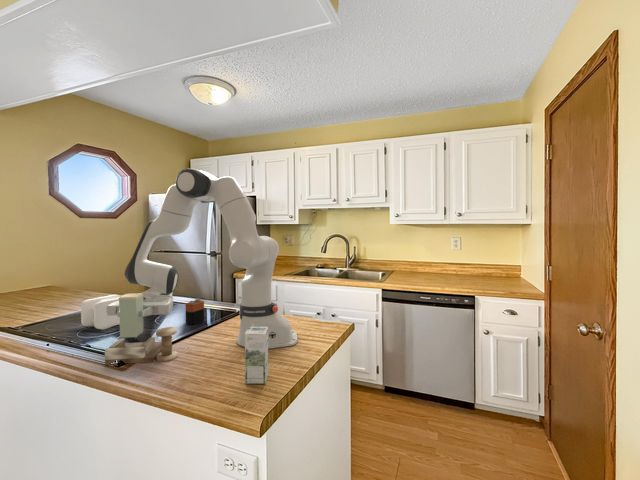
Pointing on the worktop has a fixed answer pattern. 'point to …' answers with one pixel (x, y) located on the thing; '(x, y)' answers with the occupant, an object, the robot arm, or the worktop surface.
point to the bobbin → (166, 344)
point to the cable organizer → (98, 312)
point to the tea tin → (130, 315)
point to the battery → (194, 312)
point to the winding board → (133, 351)
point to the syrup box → (256, 355)
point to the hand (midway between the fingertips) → (130, 314)
